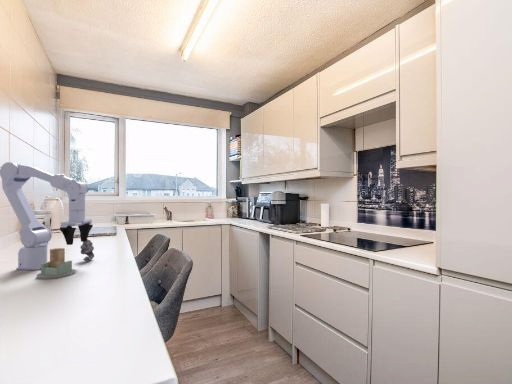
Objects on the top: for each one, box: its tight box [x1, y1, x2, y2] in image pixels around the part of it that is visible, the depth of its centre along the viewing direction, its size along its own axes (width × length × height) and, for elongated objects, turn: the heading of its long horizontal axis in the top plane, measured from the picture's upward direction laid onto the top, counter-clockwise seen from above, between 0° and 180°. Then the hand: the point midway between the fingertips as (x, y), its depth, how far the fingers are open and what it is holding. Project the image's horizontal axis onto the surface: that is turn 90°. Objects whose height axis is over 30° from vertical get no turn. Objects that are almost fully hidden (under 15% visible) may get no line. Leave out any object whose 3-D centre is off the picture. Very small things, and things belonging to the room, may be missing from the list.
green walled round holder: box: [36, 260, 76, 280], centre depth 106 cm, size 12×12×5 cm
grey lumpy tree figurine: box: [79, 238, 95, 262], centre depth 128 cm, size 5×5×10 cm
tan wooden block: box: [49, 247, 66, 268], centre depth 106 cm, size 4×2×9 cm, turn 82°
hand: (76, 243), depth 117 cm, fingers open, 7 cm apart
